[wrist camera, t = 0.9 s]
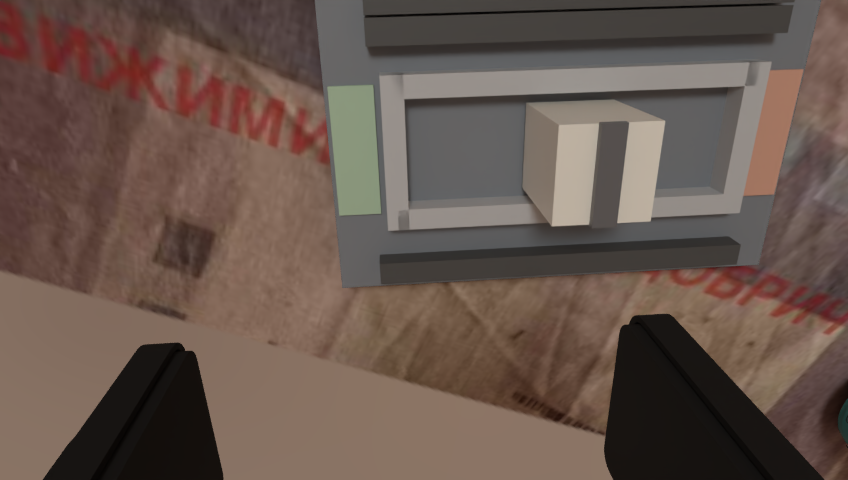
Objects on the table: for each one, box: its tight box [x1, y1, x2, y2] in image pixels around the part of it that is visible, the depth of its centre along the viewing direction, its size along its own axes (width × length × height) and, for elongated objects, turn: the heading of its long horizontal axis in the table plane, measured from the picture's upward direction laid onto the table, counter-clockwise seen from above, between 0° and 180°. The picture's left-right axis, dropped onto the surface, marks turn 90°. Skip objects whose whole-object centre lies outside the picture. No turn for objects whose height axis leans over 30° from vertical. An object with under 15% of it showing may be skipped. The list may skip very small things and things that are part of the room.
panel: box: [315, 0, 821, 288], centre depth 26 cm, size 22×14×3 cm, turn 91°
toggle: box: [522, 99, 665, 229], centre depth 23 cm, size 4×4×5 cm
